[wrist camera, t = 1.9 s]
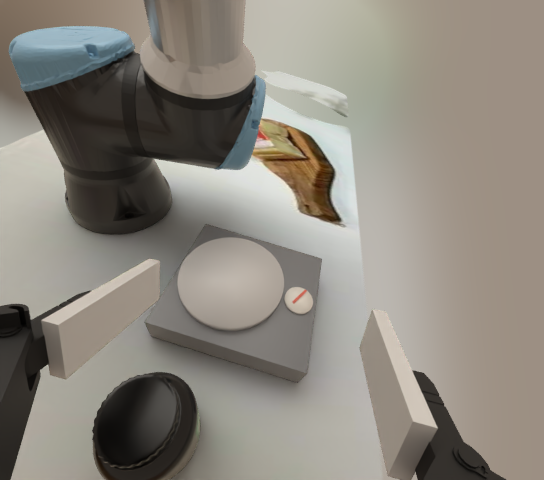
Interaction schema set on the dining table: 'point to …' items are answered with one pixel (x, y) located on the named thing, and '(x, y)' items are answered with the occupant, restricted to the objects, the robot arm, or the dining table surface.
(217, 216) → the dining table surface
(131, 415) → the supplement bottle
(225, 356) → the kitchen scale
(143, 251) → the dining table surface
